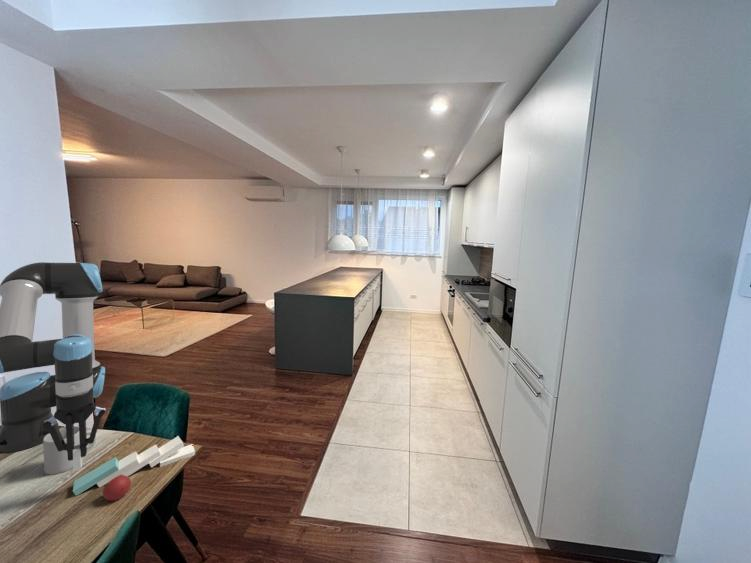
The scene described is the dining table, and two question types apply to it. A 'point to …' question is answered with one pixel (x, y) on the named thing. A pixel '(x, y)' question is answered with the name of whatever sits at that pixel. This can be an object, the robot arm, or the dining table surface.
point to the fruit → (116, 488)
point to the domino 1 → (95, 476)
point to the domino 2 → (122, 467)
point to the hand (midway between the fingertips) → (77, 467)
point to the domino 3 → (145, 459)
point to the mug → (60, 453)
